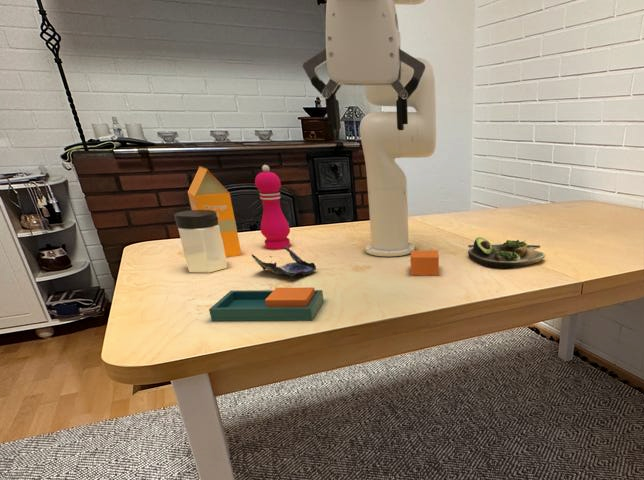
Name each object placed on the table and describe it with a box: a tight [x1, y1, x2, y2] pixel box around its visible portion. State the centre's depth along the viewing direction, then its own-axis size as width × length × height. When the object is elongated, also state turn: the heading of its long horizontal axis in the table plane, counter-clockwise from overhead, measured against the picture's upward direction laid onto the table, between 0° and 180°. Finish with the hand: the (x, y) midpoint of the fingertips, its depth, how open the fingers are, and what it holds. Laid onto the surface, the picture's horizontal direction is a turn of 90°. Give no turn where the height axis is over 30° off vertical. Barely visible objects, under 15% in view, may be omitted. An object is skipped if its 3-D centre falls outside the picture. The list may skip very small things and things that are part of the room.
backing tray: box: [208, 289, 325, 322], centre depth 82 cm, size 10×17×2 cm, turn 92°
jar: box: [173, 209, 228, 274], centre depth 103 cm, size 9×8×12 cm
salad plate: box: [467, 236, 546, 269], centre depth 114 cm, size 19×18×5 cm
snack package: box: [251, 246, 317, 281], centre depth 100 cm, size 12×6×12 cm
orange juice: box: [187, 165, 242, 258], centre depth 112 cm, size 8×9×20 cm
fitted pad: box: [265, 286, 316, 307], centre depth 81 cm, size 7×7×2 cm
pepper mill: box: [254, 164, 291, 250], centre depth 119 cm, size 7×7×20 cm
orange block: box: [410, 249, 440, 276], centre depth 103 cm, size 6×6×4 cm
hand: (368, 129), depth 70 cm, fingers open, 9 cm apart
